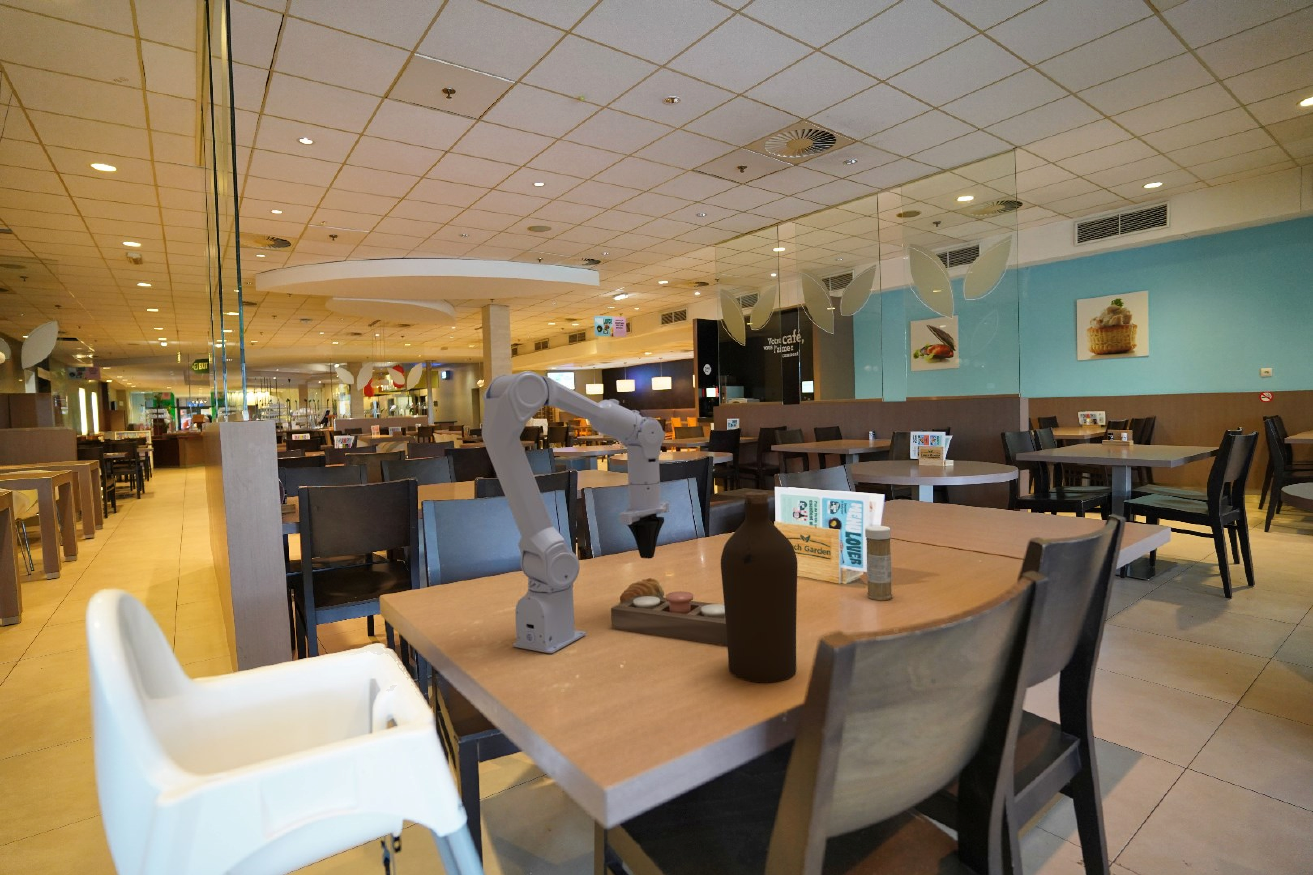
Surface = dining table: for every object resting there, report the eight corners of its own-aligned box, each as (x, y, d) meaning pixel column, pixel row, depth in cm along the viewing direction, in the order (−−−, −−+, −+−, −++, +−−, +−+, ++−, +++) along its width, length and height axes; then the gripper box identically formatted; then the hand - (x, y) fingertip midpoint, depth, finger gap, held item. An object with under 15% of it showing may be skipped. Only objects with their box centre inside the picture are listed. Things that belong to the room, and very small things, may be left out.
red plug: (686, 624, 108) (685, 600, 108) (662, 620, 110) (661, 597, 110) (698, 616, 112) (697, 592, 112) (674, 613, 114) (673, 590, 114)
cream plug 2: (723, 638, 105) (722, 613, 105) (697, 634, 107) (696, 610, 107) (734, 629, 109) (733, 605, 109) (709, 626, 111) (708, 602, 111)
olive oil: (811, 681, 88) (805, 495, 87) (733, 688, 87) (726, 499, 86) (787, 652, 98) (782, 486, 97) (718, 658, 97) (711, 490, 96)
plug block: (730, 646, 102) (730, 624, 102) (611, 628, 112) (610, 608, 112) (751, 628, 110) (750, 607, 109) (638, 613, 120) (637, 594, 120)
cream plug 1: (652, 628, 111) (651, 605, 111) (629, 625, 113) (628, 602, 113) (665, 620, 115) (664, 597, 115) (642, 617, 117) (641, 595, 117)
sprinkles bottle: (875, 592, 127) (873, 524, 127) (897, 597, 124) (895, 526, 123) (862, 597, 124) (860, 527, 124) (883, 602, 121) (881, 530, 120)
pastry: (639, 610, 123) (638, 590, 123) (610, 606, 127) (610, 586, 126) (666, 597, 130) (666, 578, 130) (639, 593, 134) (638, 575, 134)
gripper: (642, 488, 110) (646, 568, 111) (681, 479, 123) (684, 550, 124) (607, 487, 114) (611, 565, 114) (649, 478, 127) (652, 548, 127)
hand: (647, 557), depth 119 cm, fingers closed
